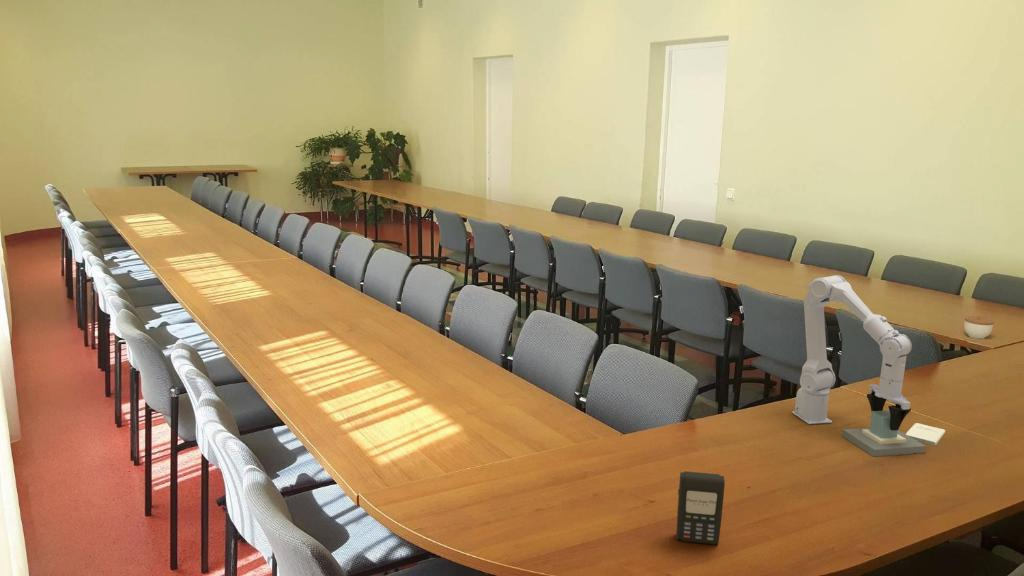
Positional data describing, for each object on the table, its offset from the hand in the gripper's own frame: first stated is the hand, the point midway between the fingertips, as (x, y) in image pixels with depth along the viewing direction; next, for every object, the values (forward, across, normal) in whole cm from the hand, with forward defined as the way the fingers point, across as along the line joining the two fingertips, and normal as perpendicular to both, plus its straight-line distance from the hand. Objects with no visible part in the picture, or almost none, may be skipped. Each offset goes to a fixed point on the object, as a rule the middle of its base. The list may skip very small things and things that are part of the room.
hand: (885, 424), depth 217 cm
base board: (+6, 0, 0) cm, 6 cm away
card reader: (+6, +39, -74) cm, 84 cm away
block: (+3, 0, 0) cm, 3 cm away
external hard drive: (+7, -4, +17) cm, 19 cm away
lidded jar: (+6, -95, +116) cm, 150 cm away
